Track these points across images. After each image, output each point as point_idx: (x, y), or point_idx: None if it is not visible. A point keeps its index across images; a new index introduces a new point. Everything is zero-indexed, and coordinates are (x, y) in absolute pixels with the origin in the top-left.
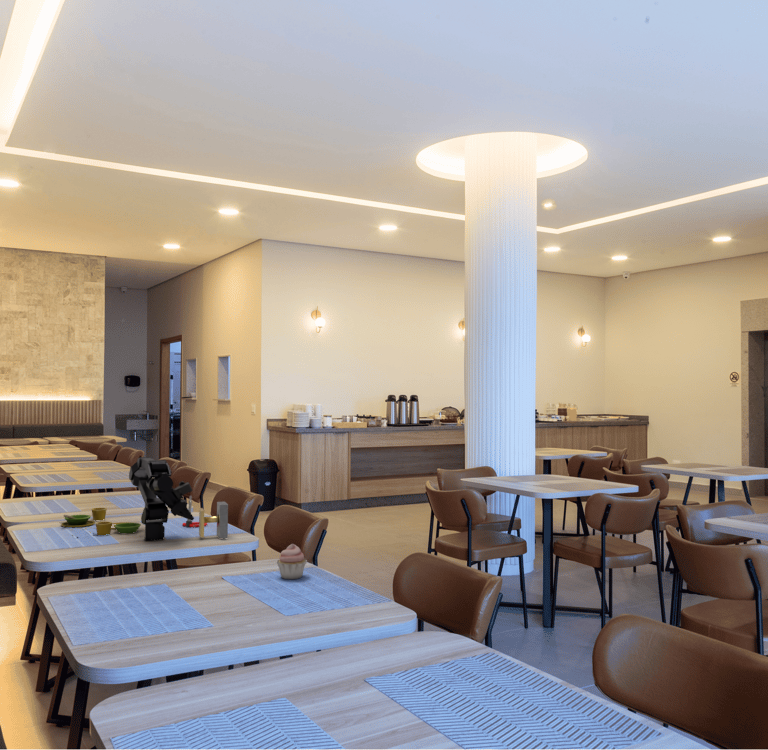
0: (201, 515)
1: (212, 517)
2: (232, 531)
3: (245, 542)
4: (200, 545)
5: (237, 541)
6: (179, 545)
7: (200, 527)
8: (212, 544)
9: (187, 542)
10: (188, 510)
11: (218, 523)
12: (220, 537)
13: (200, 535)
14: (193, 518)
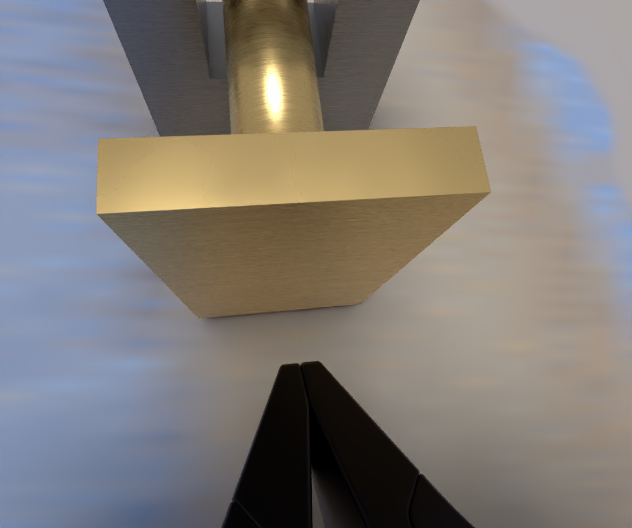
0: (447, 222)
1: (308, 83)
2: (11, 24)
3: (489, 5)
4: (571, 315)
5: (448, 46)
6: (562, 508)
7: (341, 286)
8: (539, 220)
9: (434, 433)
10: (463, 517)
11: None
12: None
13: (339, 303)
14: (322, 373)
